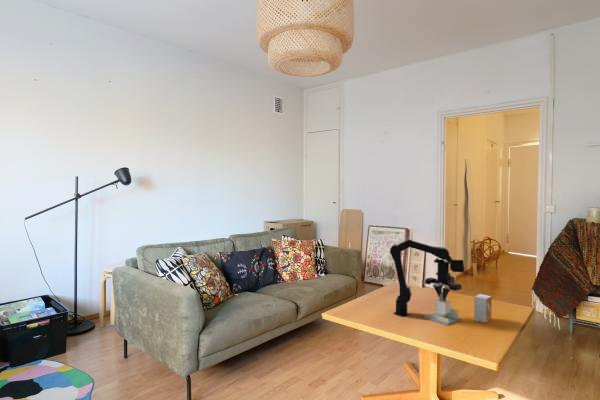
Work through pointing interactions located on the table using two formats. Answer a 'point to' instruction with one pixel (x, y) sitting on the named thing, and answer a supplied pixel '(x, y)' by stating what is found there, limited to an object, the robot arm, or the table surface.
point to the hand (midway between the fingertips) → (442, 299)
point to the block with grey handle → (442, 305)
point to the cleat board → (444, 317)
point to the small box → (482, 308)
